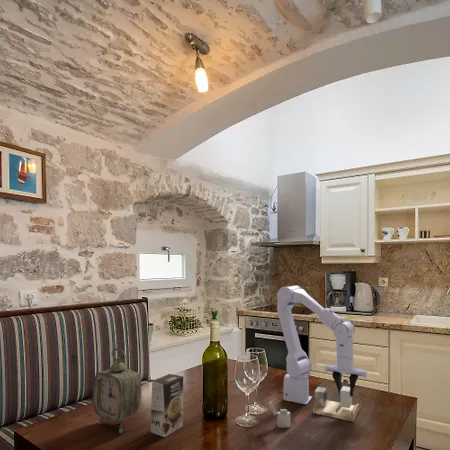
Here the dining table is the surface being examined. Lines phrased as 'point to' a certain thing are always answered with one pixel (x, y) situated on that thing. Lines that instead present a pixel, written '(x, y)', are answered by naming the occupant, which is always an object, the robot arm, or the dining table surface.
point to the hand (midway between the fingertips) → (345, 394)
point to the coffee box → (167, 404)
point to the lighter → (281, 416)
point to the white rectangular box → (345, 397)
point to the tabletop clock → (117, 392)
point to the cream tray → (333, 407)
